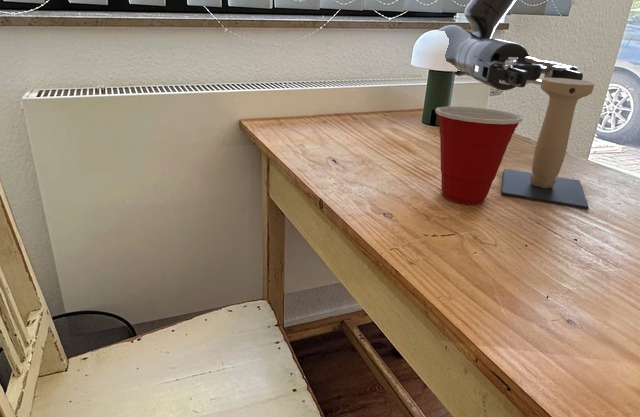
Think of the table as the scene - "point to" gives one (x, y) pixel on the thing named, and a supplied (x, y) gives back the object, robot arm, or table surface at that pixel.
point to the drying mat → (560, 193)
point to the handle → (556, 127)
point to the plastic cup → (472, 150)
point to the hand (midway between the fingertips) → (552, 80)
